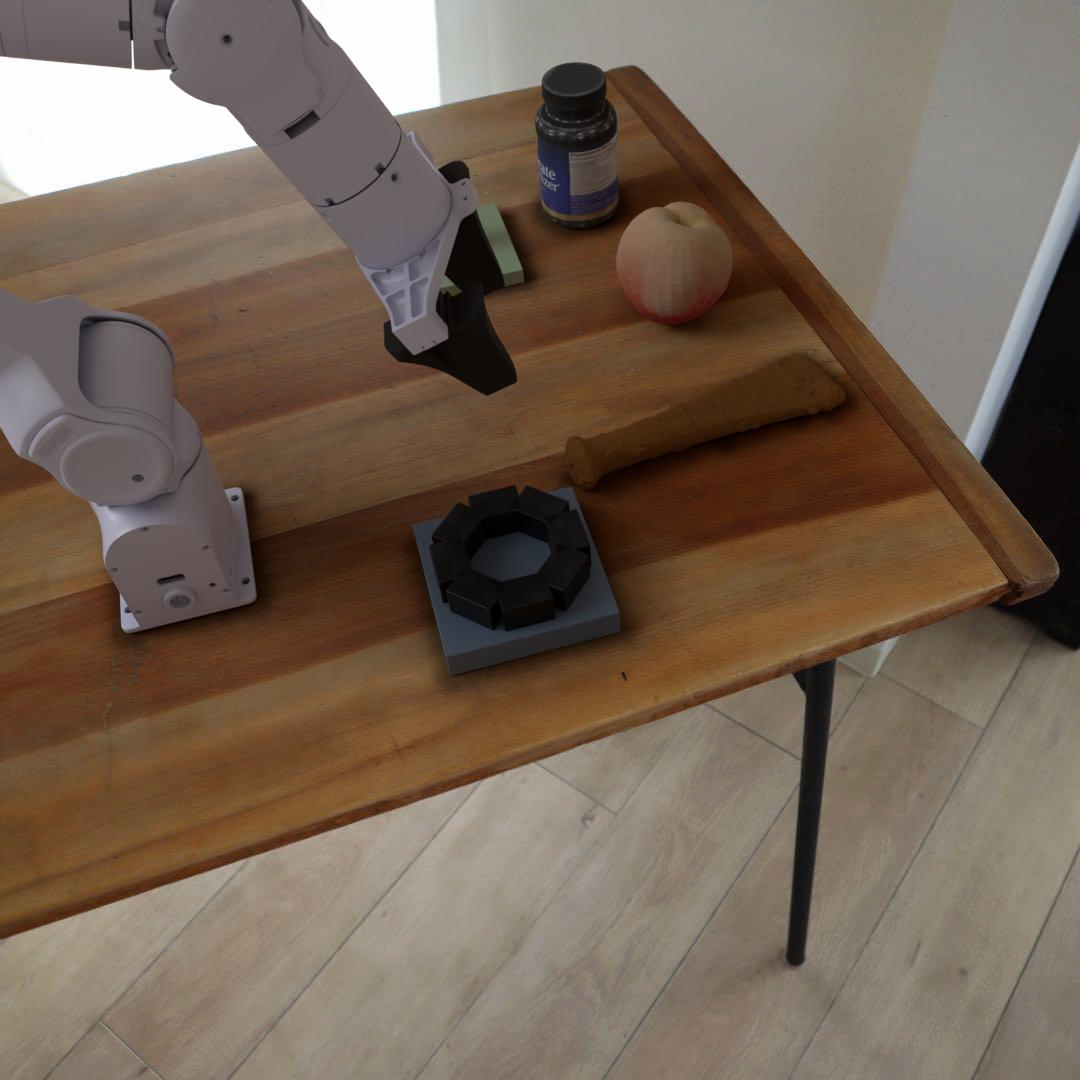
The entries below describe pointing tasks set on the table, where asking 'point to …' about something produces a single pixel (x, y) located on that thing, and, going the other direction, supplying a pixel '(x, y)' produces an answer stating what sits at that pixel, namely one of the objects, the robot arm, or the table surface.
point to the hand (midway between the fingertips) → (495, 335)
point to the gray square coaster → (510, 560)
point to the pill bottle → (577, 146)
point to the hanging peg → (495, 248)
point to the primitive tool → (708, 418)
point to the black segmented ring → (518, 596)
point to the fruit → (674, 262)
